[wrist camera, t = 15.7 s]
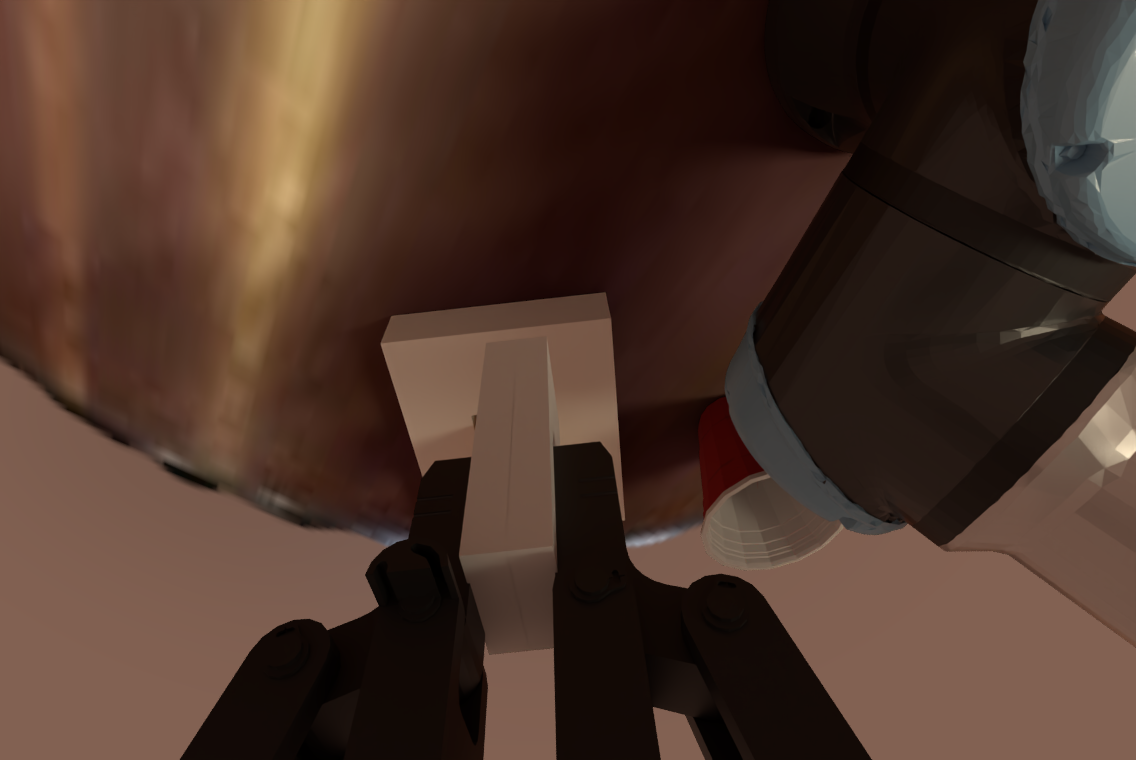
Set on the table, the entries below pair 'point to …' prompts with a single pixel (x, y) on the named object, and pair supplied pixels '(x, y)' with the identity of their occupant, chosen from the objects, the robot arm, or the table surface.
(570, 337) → the socket plate
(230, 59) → the table surface
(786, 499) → the plastic cup
